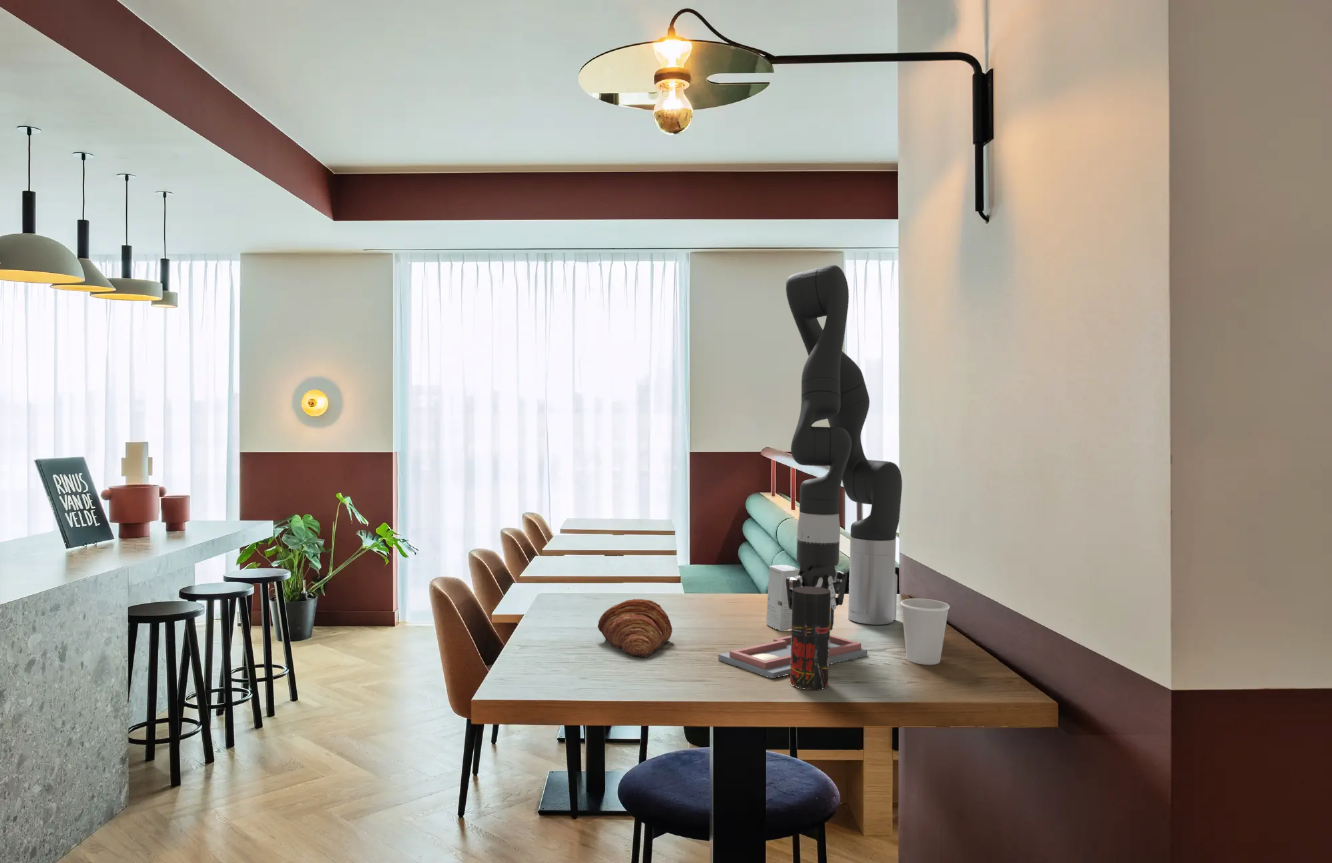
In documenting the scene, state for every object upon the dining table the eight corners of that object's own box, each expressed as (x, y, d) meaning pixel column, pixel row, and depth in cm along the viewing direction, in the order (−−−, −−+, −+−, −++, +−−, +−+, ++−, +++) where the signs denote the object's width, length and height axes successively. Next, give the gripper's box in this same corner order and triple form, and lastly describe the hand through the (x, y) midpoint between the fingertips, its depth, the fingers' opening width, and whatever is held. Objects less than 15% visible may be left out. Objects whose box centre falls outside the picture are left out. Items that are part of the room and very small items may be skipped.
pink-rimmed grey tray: (812, 639, 168) (812, 628, 168) (867, 655, 158) (867, 644, 158) (718, 660, 153) (718, 648, 153) (772, 679, 143) (773, 666, 143)
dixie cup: (947, 669, 151) (948, 610, 150) (896, 663, 153) (898, 605, 153) (949, 656, 158) (950, 600, 158) (901, 651, 161) (902, 596, 161)
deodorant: (786, 678, 143) (788, 586, 143) (822, 678, 144) (825, 586, 143) (794, 690, 138) (797, 594, 137) (832, 690, 138) (835, 594, 138)
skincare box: (765, 624, 179) (766, 565, 178) (784, 623, 180) (786, 563, 180) (780, 632, 173) (782, 570, 173) (800, 630, 175) (802, 569, 174)
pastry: (698, 644, 164) (699, 601, 164) (640, 660, 152) (641, 614, 152) (633, 627, 175) (634, 587, 175) (575, 641, 164) (576, 598, 164)
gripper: (806, 543, 151) (803, 642, 152) (860, 537, 160) (857, 630, 161) (774, 538, 157) (772, 632, 158) (829, 532, 166) (826, 622, 167)
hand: (815, 631), depth 159 cm, fingers closed on supplement bottle, 5 cm apart
